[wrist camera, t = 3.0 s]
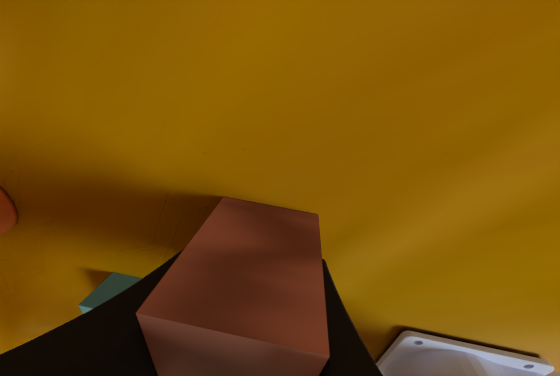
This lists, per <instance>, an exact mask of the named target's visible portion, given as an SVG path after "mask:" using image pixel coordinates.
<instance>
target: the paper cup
mask: <svg viewBox="0 0 560 376" xmlns="http://www.w3.org/2000/svg"><path fill="white" fill-rule="evenodd" d="M17 222H18V213H17V210H16V207H15V205H14V204H13V202H12V200H11V199H10V197H9V196H8V195H7V194H6V192H5V191H4V190H3V189H2V188H1V187H0V235H1V234H2V233H4V232H6V231H7V230H9V229H11V228H12V227H14V226H15V225H16V224H17Z"/></svg>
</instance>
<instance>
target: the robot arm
mask: <svg viewBox="0 0 560 376" xmlns="http://www.w3.org/2000/svg"><path fill="white" fill-rule="evenodd" d="M184 249H185V248H184ZM184 249H183V250H184ZM183 250H181V251H180V252H179V253H177V254H176V255H175V256H173V257H172V258H171V259H169V260H168V261H167V262H165V263H164V264H163V265H161V266H160V267H159V268H157V269H156V270H154V271H153V272H151V273H150V274H148V275H147V276H145V277H144V278H143V279H141V280H140V281H138V282H137V283H135V284H133V285H132V286H130V287H129V288H127V289H126V290H124V291H122V292H121V293H119V294H117V295H116V296H114V297H112V298H111V299H109V300H107V301H106V302H104V303H102V304H100V305H99V306H97V307H95V308H93V309H91V310H90V311H88V312H86V313H84V314H82V315H80V316H79V317H77V318H75V319H73V320H71V321H69V322H67V323H65V324H63V325H61V326H59V327H57V328H55V329H53V330H51V331H49V332H47V333H45V334H43V335H41V336H39V337H37V338H35V339H33V340H31V341H29V342H27V343H25V344H23V345H20V346H18V347H16V348H14V349H12V350H9V351H7V352H5V353H3V354H0V376H158V374H157V371H156V369H155V366H154V363H153V360H152V357H151V355H150V352H149V349H148V346H147V343H146V341H145V338H144V335H143V332H142V329H141V327H140V324H139V321H138V318H137V315H136V312H137V311H138V309H139V308H140V307H141V306H142V304H143V303H144V302H145V300H146V299H147V298H148V296H149V295H150V294H151V292H152V291H153V290H154V288H155V287H156V286H157V284H158V283H159V282H160V280H161V279H162V278H163V276H164V275H165V274H166V272H167V271H168V270H169V268H170V267H171V266H172V265H173V263H174V262H175V261H176V259H177V258H178V257H179V255H180V254H181V253H182V251H183ZM322 267H323V279H324V292H325V304H326V316H327V329H328V341H329V353H330V357H329V358H328V360H327V362H326V364H325V366H324V367H323V369H322V371H321V373H320V375H319V376H545V375H547V374H549V373H551V372H552V371H554V367H553V366H552V365H551V364H550V362H549V361H547V360H545V359H541V358H536V357H531V356H527V355H522V354H517V353H512V352H508V351H503V350H498V349H494V348H489V347H484V346H479V345H475V344H470V343H465V342H461V341H456V340H451V339H447V338H442V337H437V336H432V335H428V334H423V333H418V332H414V331H404V332H402V333H401V334H400V335H399V336H398V338H397V339H396V340H395V341H394V343H393V344H392V345H391V346H390V347H389V349H388V350H387V351H386V352H385V353H384V355H383V356H382V357H381V358H380V360H379V361H378V362H377V363H375V362H374V360H373V359H372V357H371V355H370V353H369V352H368V350H367V348H366V347H365V345H364V343H363V341H362V340H361V338H360V336H359V334H358V332H357V331H356V329H355V327H354V325H353V323H352V321H351V319H350V317H349V315H348V313H347V311H346V309H345V307H344V305H343V303H342V301H341V298H340V296H339V294H338V292H337V290H336V287H335V285H334V282H333V280H332V278H331V275H330V273H329V270H328V267H327V264H326V261H325V260H324V259H322Z"/></svg>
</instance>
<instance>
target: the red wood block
mask: <svg viewBox="0 0 560 376" xmlns="http://www.w3.org/2000/svg"><path fill="white" fill-rule="evenodd" d="M136 315H137V318H138V321H139V324H140V327H141V329H142V332H143V335H144V338H145V341H146V343H147V346H148V349H149V352H150V355H151V357H152V360H153V363H154V366H155V369H156V371H157V374H158V376H319V375H320V373H321V371H322V369H323V367H324V366H325V364H326V362H327V360H328V358H329V357H330V353H329V341H328V329H327V316H326V304H325V292H324V279H323V267H322V255H321V242H320V230H319V218H318V215H316V214H311V213H306V212H301V211H296V210H290V209H285V208H280V207H275V206H269V205H264V204H259V203H254V202H248V201H243V200H238V199H233V198H228V197H223V198H222V200H221V201H220V202H219V204H218V205H217V206H216V208H215V209H214V210H213V212H212V213H211V214H210V216H209V217H208V218H207V220H206V221H205V222H204V224H203V225H202V226H201V228H200V229H199V230H198V231H197V233H196V234H195V235H194V237H193V238H192V239H191V241H190V242H189V243H188V245H187V246H186V247H185V249H184V250H183V251H182V253H181V254H180V255H179V257H178V258H177V259H176V261H175V262H174V263H173V265H172V266H171V267H170V268H169V270H168V271H167V272H166V274H165V275H164V276H163V278H162V279H161V280H160V282H159V283H158V284H157V286H156V287H155V288H154V290H153V291H152V292H151V294H150V295H149V296H148V298H147V299H146V300H145V302H144V303H143V304H142V306H141V307H140V308H139V309H138V311H137V312H136Z"/></svg>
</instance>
